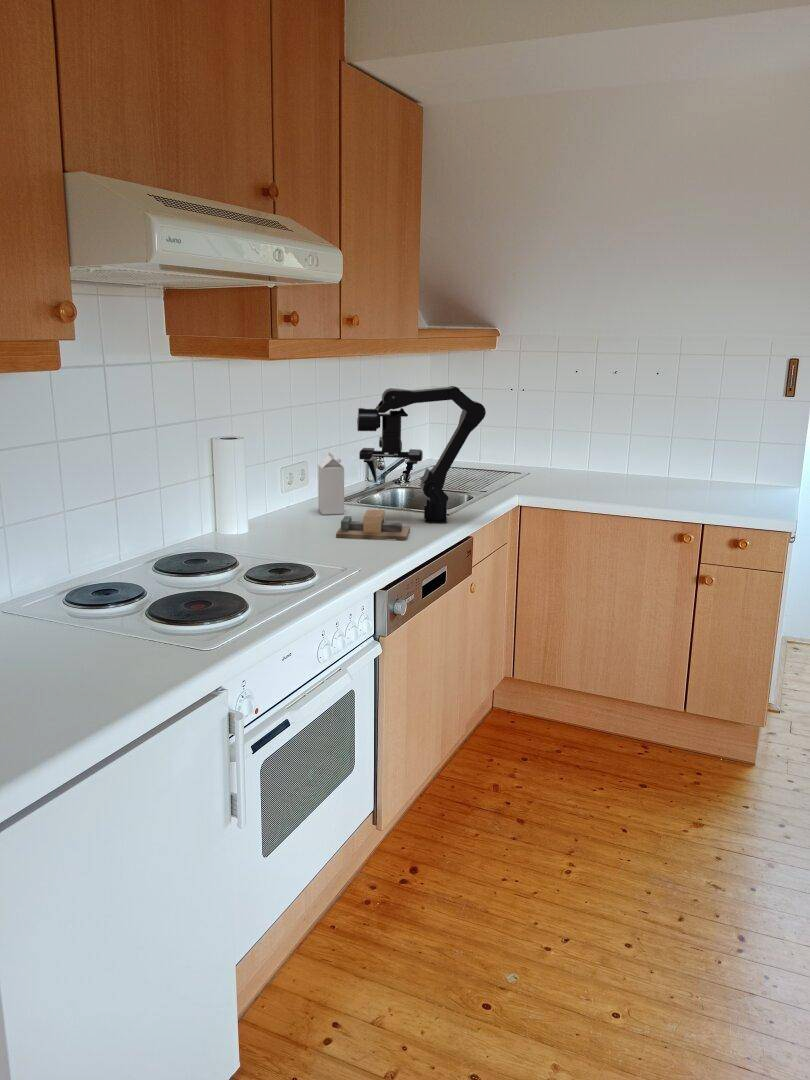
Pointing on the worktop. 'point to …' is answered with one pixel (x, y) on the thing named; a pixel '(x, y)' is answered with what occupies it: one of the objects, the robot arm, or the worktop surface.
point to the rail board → (356, 532)
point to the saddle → (373, 521)
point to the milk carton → (331, 486)
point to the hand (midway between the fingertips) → (390, 482)
